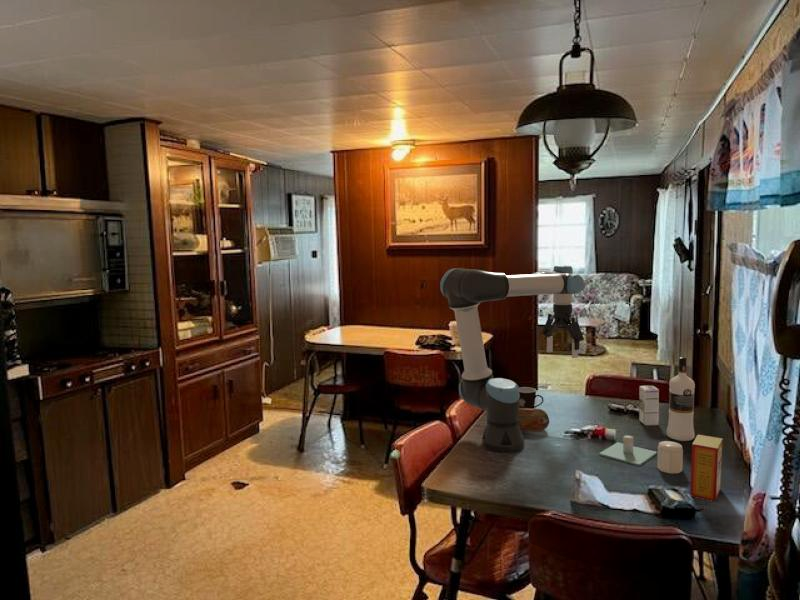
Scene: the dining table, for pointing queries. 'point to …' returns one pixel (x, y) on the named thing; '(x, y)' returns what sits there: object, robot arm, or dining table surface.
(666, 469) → the cap
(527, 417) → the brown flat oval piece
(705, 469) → the baking soda box
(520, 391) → the coffee mug
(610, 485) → the dining table surface
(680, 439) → the vodka
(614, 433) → the dining table surface
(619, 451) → the base
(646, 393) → the syrup box
